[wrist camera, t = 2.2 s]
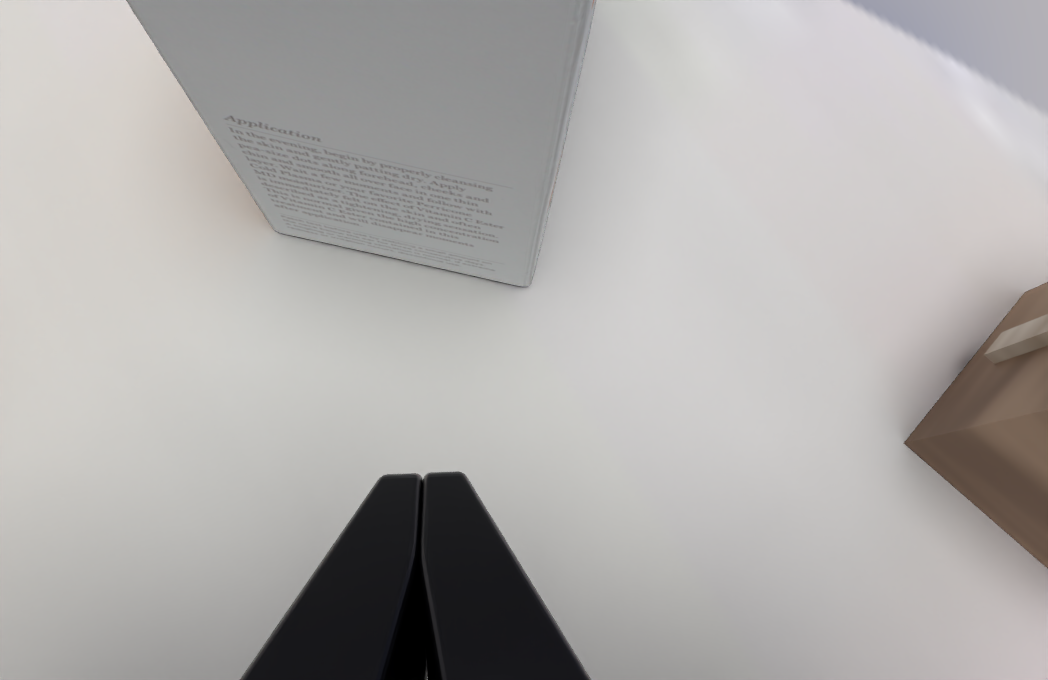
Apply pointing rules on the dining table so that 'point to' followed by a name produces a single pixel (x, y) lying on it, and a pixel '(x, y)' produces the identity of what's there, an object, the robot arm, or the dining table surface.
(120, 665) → the dining table surface
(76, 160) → the dining table surface
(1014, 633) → the dining table surface
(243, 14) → the small box
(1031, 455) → the walnut block one
